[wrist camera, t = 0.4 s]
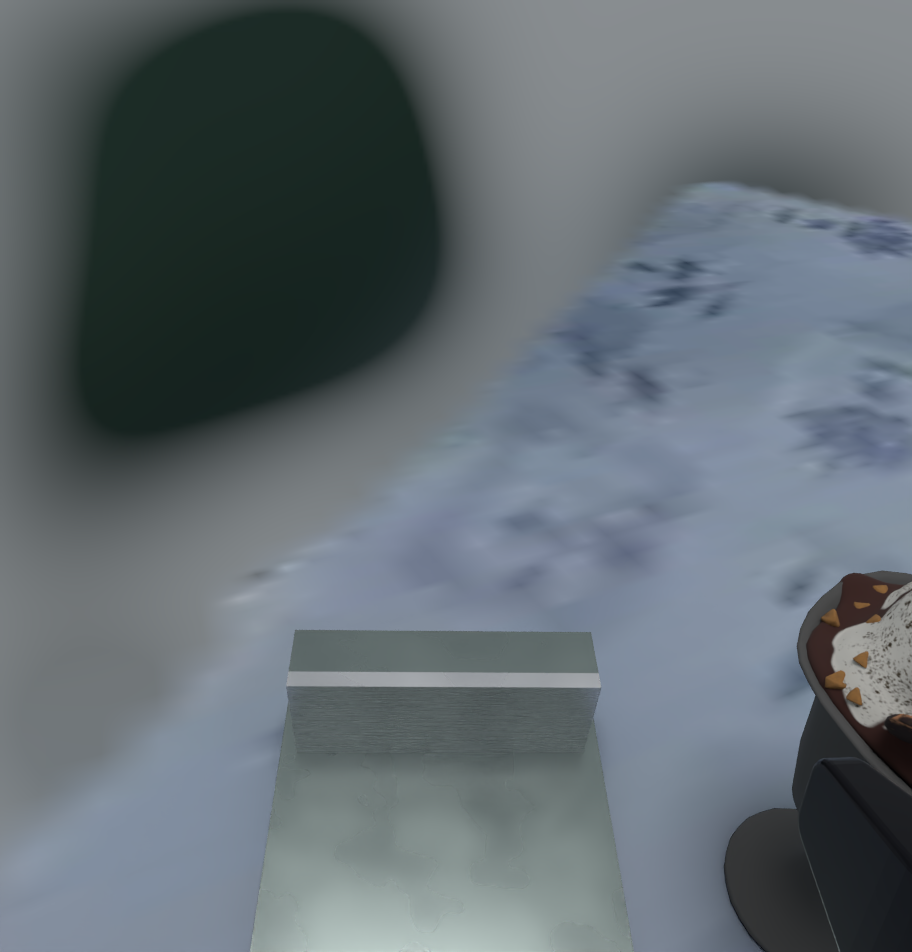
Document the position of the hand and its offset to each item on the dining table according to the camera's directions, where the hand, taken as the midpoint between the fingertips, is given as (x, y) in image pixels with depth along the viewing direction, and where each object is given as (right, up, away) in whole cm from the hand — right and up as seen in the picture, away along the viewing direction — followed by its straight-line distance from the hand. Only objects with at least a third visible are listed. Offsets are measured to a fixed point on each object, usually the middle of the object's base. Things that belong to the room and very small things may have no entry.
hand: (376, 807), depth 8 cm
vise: (0, -10, +13) cm, 17 cm away
